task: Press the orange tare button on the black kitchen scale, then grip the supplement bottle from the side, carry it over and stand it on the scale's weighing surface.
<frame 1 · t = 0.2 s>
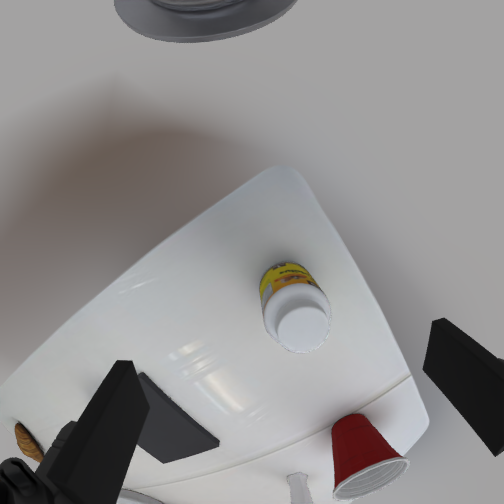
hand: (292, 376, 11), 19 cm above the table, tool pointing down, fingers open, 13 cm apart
supplement bottle: (285, 284, 30), on the table
plastic cup: (349, 425, 35), on the table
scale: (154, 422, 34), on the table
lid: (133, 501, 42), on the table
perfume bottle: (295, 477, 38), on the table
croissant: (33, 440, 37), on the table
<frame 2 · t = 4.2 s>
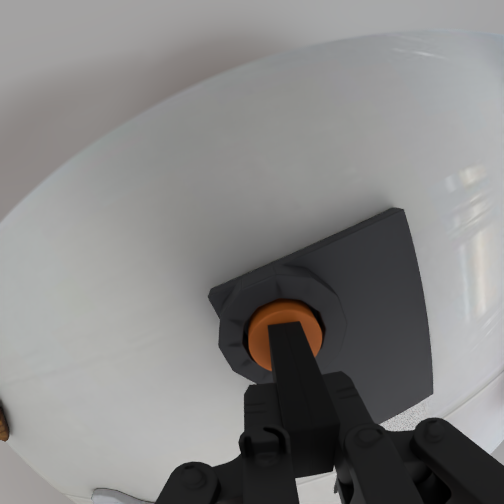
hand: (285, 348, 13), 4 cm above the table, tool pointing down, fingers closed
scale: (346, 353, 18), on the table
tare button: (283, 335, 14), point 3 cm above the table, slide at -0.6 cm, touching gripper
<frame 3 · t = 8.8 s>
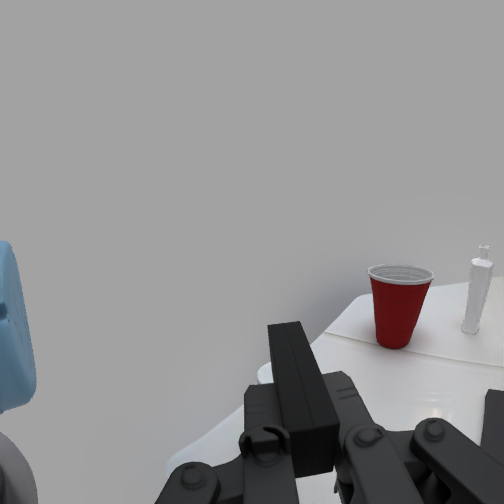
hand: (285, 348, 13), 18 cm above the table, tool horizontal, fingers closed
plastic cup: (392, 339, 41), on the table
perfume bottle: (470, 330, 38), on the table
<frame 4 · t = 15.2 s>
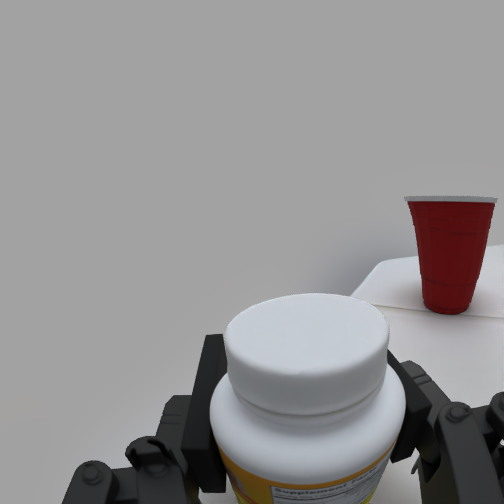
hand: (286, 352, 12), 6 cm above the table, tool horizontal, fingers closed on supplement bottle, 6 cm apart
plastic cup: (445, 304, 26), on the table
when the fingers open (7 cm above the table, at t = 24.4 s): supplement bottle stays where it is, resting on scale.
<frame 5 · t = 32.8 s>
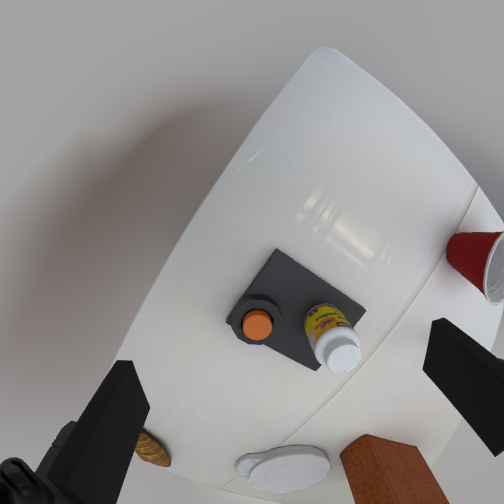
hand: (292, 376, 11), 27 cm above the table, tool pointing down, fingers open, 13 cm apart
supplement bottle: (321, 319, 38), point 1 cm above the table, touching scale
plastic cup: (457, 250, 38), on the table
scale: (297, 314, 39), on the table
lid: (282, 465, 47), on the table
book: (380, 451, 48), on the table
tare button: (257, 324, 35), point 3 cm above the table, slide at 0.1 cm
croissant: (152, 442, 45), on the table
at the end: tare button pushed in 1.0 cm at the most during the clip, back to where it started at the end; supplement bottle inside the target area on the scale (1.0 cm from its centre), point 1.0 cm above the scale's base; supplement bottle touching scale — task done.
